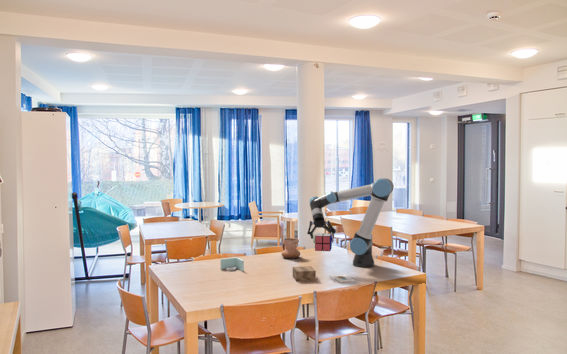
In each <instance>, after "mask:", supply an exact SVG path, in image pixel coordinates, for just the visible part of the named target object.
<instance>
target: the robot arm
mask: <svg viewBox="0 0 567 354" xmlns="http://www.w3.org/2000/svg"><path fill="white" fill-rule="evenodd" d="M393 191H394V183H393V182H392V180H391V179H389V178H378V179H377V180H375V181H373V182H372V183H371V184H366V185H362V186H357V187H352V188H349V189H343V190H338V191H334V192H333V191H329V192H326V193H325V194H323V195H322V196H319V197H318V196H317V195H316V196H312V197H310V199H309V207H310V210H311V217H312V220H309V222H308V223H309V226H308V230H307V233H306V234H307V235H309V236H310V239H312V243H313V244H315V233H314V232H315V231H316V229H317V228H318V229H321V228H323V229H325V231H327V233H328V234H332V244H333V243H334V241H335V240H334V239H335V234H336V232H337V231H336V229H335V228H334V227H333V225H332V224H331V223H330V220H327V221H325V216H324V212H323V208H325V207H327V206H329V205H331V204H336V203H340V202H346V201H349V200H356V199H360V198H365V197H370V198H371V199H370V201H369V203H368V206H367V209H366V211H365V212H364V216H363V219H362V221H361V223H360V226H359V229H358V230H356V231H355V233H354V236H353V237H352V239H351V240H350V242H349V249H350V251H351V252H352V253H353V254H354V257H353V260H352V265H353V266H355V267H359V268H373V267H374V266H375V261H374V257H373V234H372V233H373V230H374V228H375V226H376V223H377V221H378V218H379V216H380V213H381V211H382V208H383V205H384V203H387V202H388V200H389V197H390V194H391V193H393ZM313 225H314V226H313ZM312 226H313V228H312ZM372 266H373V267H372Z"/></svg>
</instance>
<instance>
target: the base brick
mask: <svg viewBox="0 0 567 354" xmlns="http://www.w3.org/2000/svg"><path fill="white" fill-rule="evenodd" d="M316 273H317V271H316V270H315V269H314V268H313V267H312V265H309V266H292V279H294V280H295V282H313V281H317V280H316V276H317V275H316Z"/></svg>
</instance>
